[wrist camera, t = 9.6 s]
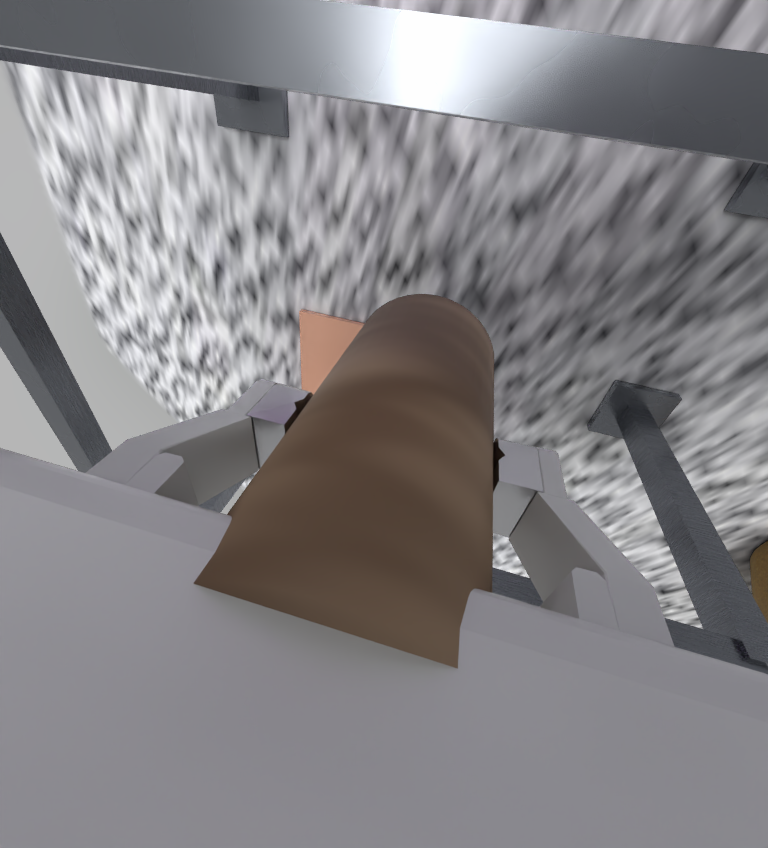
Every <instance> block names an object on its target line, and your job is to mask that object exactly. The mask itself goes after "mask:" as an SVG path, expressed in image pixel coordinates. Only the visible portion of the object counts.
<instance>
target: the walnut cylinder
mask: <svg viewBox="0 0 768 848" xmlns="http://www.w3.org/2000/svg"><path fill="white" fill-rule="evenodd" d="M493 434H494V352H493V347H492V343H491V340H490V337H489V335H488V333H487V331H486V330H485V328H484V326H483V325H482V324H481V322H480V321H479V320H478V319H477V318H476V317H475V316H474V315H473V314H472V313H471V312H470V311H469V310H467V309H466V308H465V307H463V306H462V305H460V304H458V303H456V302H454V301H452V300H450V299H447V298H444V297H440V296H436V295H429V294H414V295H407V296H403V297H399V298H396V299H394V300H392V301H389V302H388V303H386V304H384V305H383V306H381V307H380V308H379V309H377V310H376V311H375V312H374V313H373V314H372V315H371V316H370V317H369V319H368V320H367V321H366V323H365V324H364V325H363V327H362V328H361V330H360V331H359V332H358V334H357V335H356V337H355V338H354V339H353V341H352V342H351V343H350V345H349V346H348V348H347V349H346V350H345V352H344V353H343V355H342V356H341V357H340V359H339V360H338V361H337V363H336V364H335V366H334V367H333V368H332V370H331V371H330V373H329V374H328V375H327V377H326V378H325V379H324V381H323V382H322V384H321V385H320V386H319V388H318V389H317V391H316V392H315V393H314V395H313V396H312V397H311V399H310V400H309V402H308V403H307V404H306V406H305V407H304V409H303V410H302V411H301V413H300V414H299V415H298V417H297V418H296V420H295V421H294V422H293V424H292V425H291V427H290V428H289V429H288V431H287V432H286V433H285V435H284V436H283V438H282V439H281V440H280V442H279V443H278V445H277V446H276V447H275V449H274V450H273V452H272V453H271V454H270V456H269V457H268V458H267V460H266V461H265V463H264V464H263V465H262V467H261V468H260V470H259V471H258V472H257V474H256V475H255V476H254V478H253V479H252V481H251V482H250V483H249V485H248V486H247V488H246V489H245V490H244V492H243V493H242V495H241V496H240V497H239V499H238V500H237V502H236V503H235V504H234V506H233V507H232V508H231V510H230V511H229V513H228V514H227V515H229V516H231V517H232V519H231V522H230V525H229V527H228V528H227V530H226V532H225V534H224V536H223V538H222V540H221V542H220V544H219V546H218V548H217V550H216V552H215V553H214V555H213V556H212V557H211V559H210V560H209V562H208V563H207V565H206V566H205V568H204V569H203V570H202V572H201V573H200V575H199V576H198V578H197V579H196V580H195V582H194V583H193V584H196V585H199V586H202V587H205V588H208V589H211V590H214V591H218V592H221V593H224V594H227V595H230V596H233V597H236V598H239V599H242V600H246V601H249V602H252V603H255V604H258V605H261V606H264V607H267V608H270V609H274V610H277V611H280V612H283V613H286V614H289V615H292V616H295V617H298V618H302V619H305V620H308V621H311V622H314V623H317V624H320V625H323V626H327V627H330V628H333V629H336V630H339V631H342V632H345V633H348V634H351V635H355V636H358V637H361V638H364V639H367V640H370V641H373V642H376V643H379V644H383V645H386V646H389V647H392V648H395V649H398V650H401V651H404V652H407V653H411V654H414V655H417V656H420V657H423V658H426V659H429V660H432V661H436V662H439V663H442V664H445V665H448V666H451V667H454V668H457V669H458V655H459V637H460V626H461V623H462V619H463V615H464V612H465V608H466V604H467V600H468V597H469V594H470V592H471V591H472V590H473V589H480V590H484V591H487V592H491V593H492V565H493Z"/></svg>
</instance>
